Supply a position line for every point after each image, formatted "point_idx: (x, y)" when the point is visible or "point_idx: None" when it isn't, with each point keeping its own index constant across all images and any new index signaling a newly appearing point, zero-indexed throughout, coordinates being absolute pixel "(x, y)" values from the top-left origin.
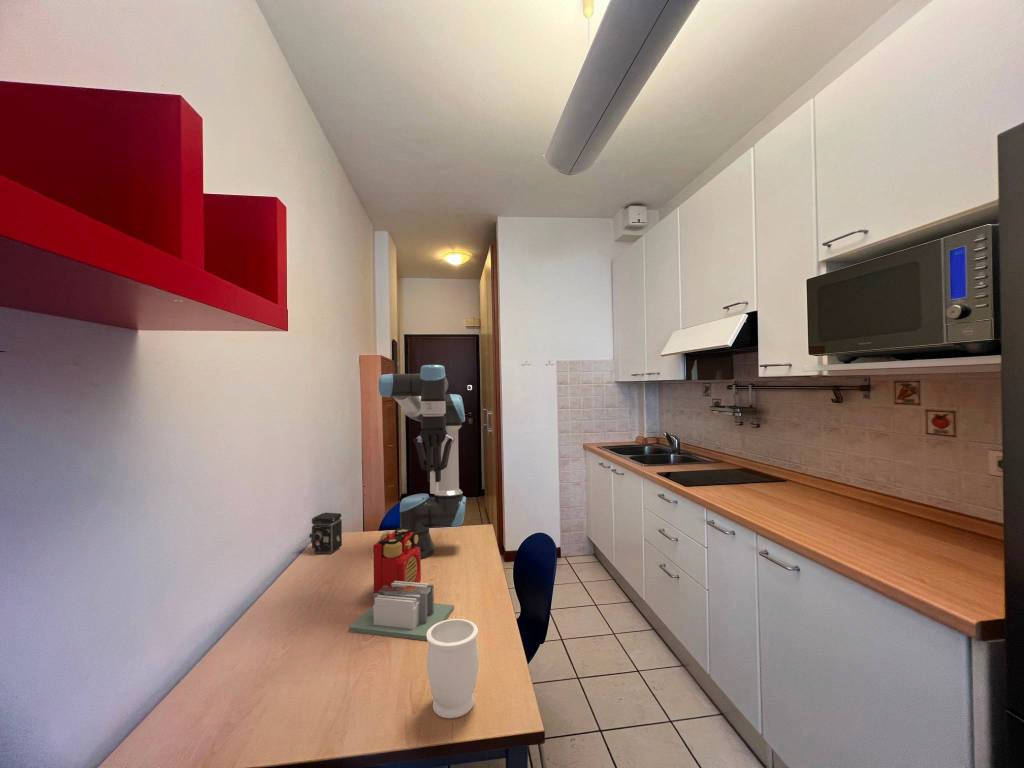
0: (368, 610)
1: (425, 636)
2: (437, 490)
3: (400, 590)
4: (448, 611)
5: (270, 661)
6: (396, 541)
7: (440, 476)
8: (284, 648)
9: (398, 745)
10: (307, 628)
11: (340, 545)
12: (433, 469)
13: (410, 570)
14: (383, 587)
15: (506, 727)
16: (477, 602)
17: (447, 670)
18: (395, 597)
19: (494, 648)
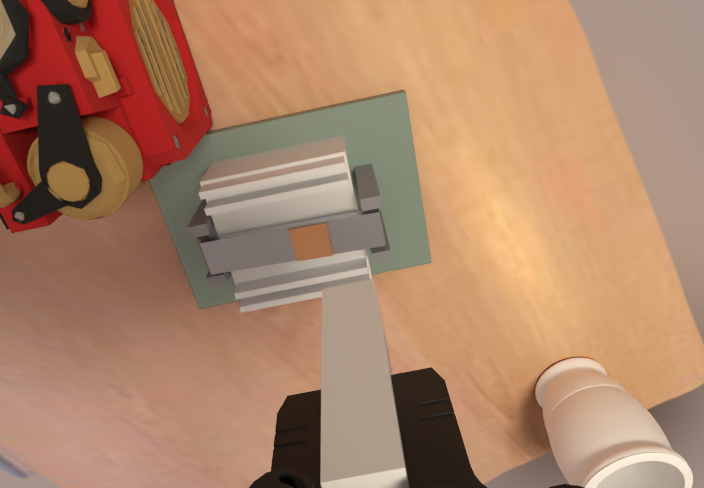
0: (170, 227)
1: (416, 265)
2: (379, 309)
3: (285, 255)
4: (409, 135)
5: (153, 429)
6: (97, 180)
7: (457, 425)
8: (131, 396)
9: (522, 463)
10: (90, 330)
11: None
12: (307, 484)
13: (164, 66)
14: (205, 249)
15: (671, 389)
16: (460, 9)
17: (618, 486)
18: (297, 285)
19: (597, 222)
